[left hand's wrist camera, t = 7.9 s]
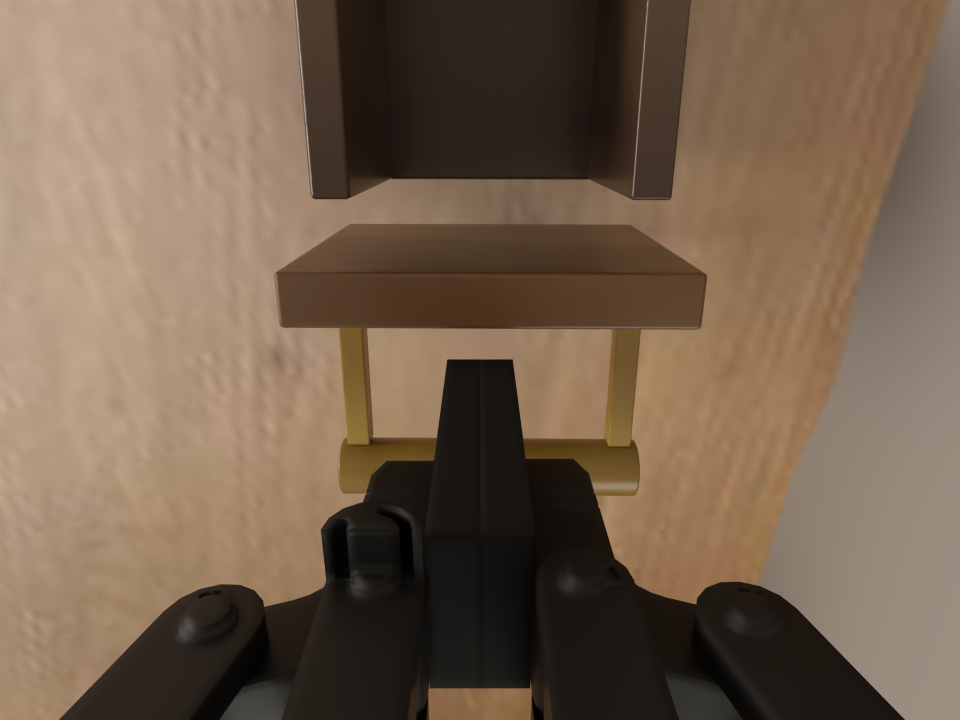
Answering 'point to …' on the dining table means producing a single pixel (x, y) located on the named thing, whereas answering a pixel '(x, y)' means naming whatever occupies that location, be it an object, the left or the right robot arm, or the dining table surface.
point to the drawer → (491, 155)
